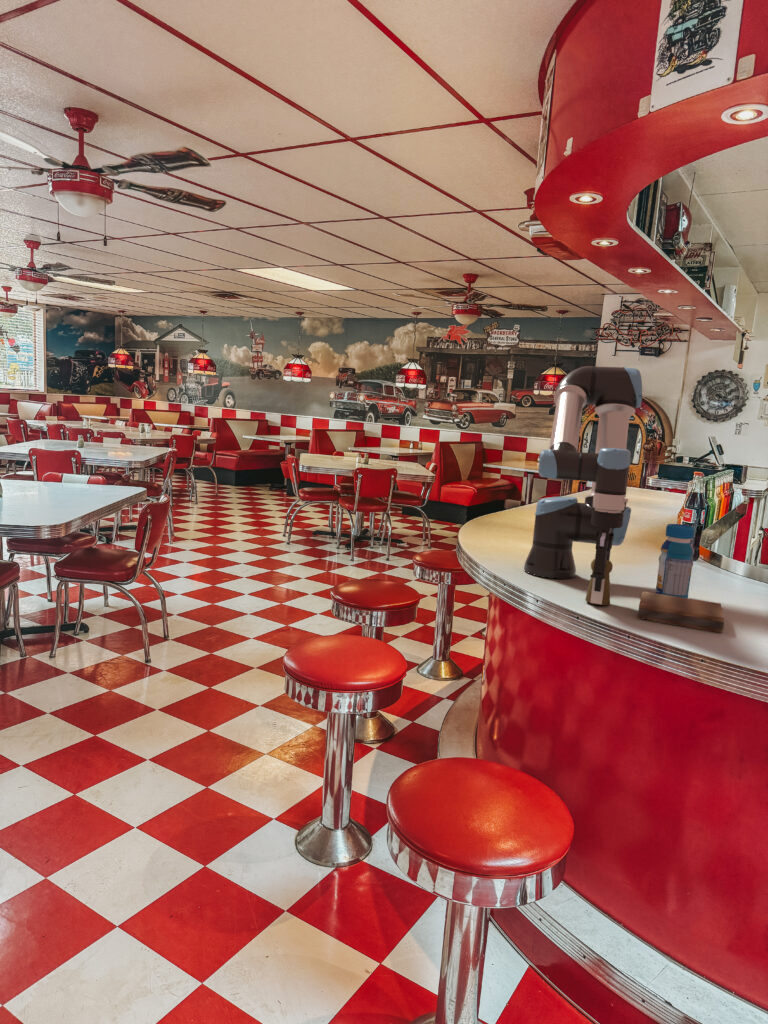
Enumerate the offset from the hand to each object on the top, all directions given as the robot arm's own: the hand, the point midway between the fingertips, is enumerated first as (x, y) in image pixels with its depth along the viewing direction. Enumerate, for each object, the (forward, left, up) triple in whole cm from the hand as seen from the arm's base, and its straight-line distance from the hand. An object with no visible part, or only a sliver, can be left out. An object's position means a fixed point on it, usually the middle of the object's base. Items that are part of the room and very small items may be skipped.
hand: (597, 599), depth 164 cm
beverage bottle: (+17, +19, -1) cm, 25 cm away
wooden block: (+19, 0, -1) cm, 19 cm away
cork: (0, 0, -1) cm, 1 cm away
